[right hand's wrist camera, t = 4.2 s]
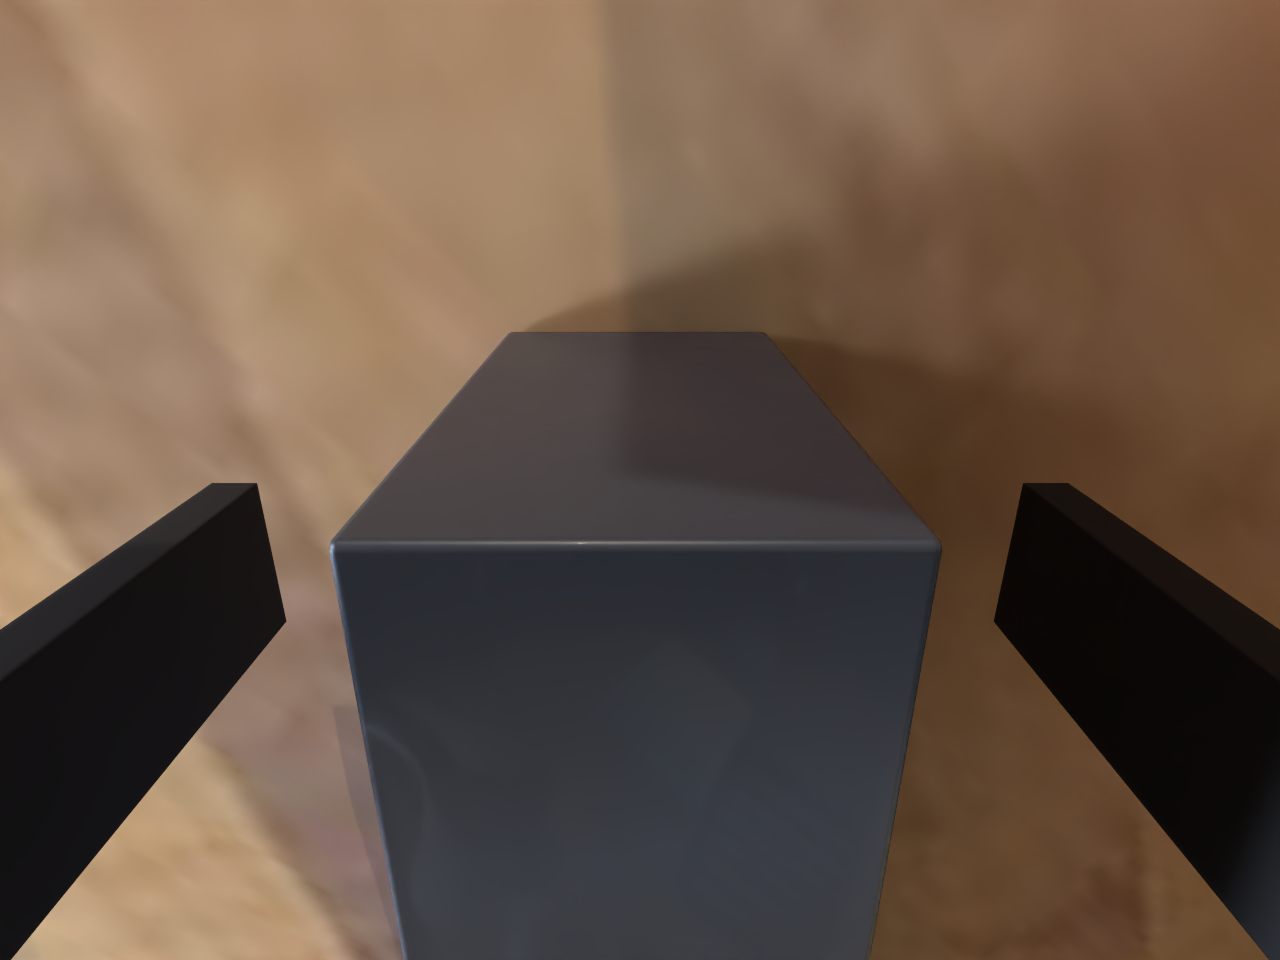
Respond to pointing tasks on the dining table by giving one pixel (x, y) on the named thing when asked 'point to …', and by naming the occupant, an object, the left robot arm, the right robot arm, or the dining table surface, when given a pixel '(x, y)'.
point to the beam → (636, 658)
